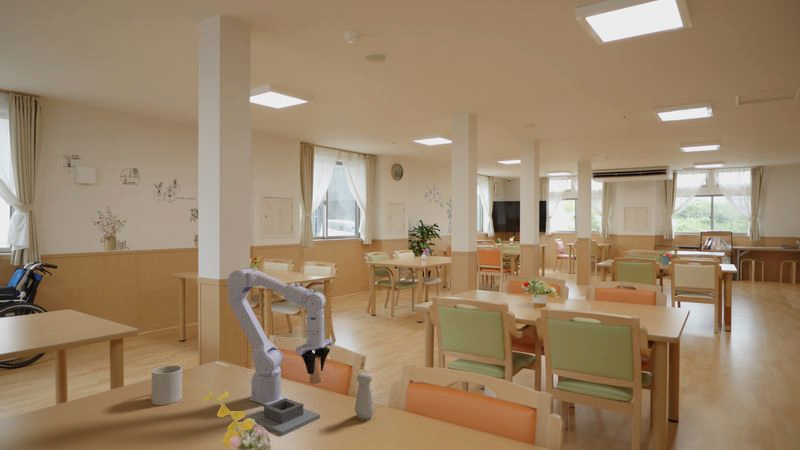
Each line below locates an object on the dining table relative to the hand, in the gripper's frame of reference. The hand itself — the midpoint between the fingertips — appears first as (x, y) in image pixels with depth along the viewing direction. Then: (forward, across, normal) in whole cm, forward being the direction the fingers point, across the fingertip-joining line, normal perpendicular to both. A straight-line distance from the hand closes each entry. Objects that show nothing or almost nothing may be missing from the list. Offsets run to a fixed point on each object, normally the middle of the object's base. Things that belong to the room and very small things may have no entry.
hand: (315, 371), depth 147 cm
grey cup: (+10, -27, +41) cm, 50 cm away
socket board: (+10, -15, -2) cm, 18 cm away
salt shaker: (+10, 0, -21) cm, 23 cm away
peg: (+3, 0, 0) cm, 3 cm away
